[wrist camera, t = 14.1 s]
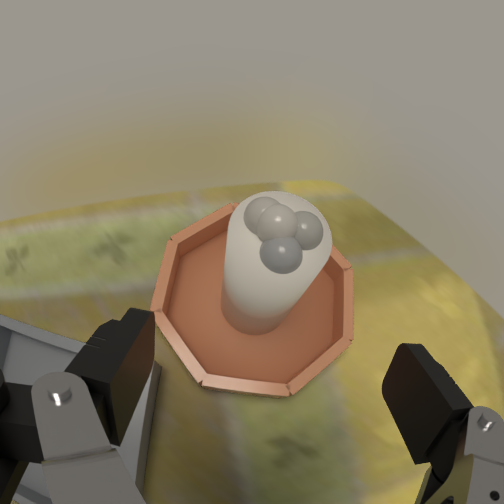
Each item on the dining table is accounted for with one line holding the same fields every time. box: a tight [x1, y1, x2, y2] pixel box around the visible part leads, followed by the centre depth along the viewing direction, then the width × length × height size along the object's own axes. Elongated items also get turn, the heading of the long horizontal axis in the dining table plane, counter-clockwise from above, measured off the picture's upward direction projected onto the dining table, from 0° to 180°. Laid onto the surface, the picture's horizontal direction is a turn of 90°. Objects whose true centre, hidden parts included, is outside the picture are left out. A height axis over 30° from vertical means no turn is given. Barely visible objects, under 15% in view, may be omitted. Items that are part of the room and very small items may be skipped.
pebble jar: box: [221, 191, 332, 335], centre depth 19 cm, size 5×5×11 cm
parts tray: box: [0, 314, 161, 504], centre depth 16 cm, size 14×14×3 cm
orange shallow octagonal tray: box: [150, 202, 354, 398], centre depth 23 cm, size 14×14×3 cm
